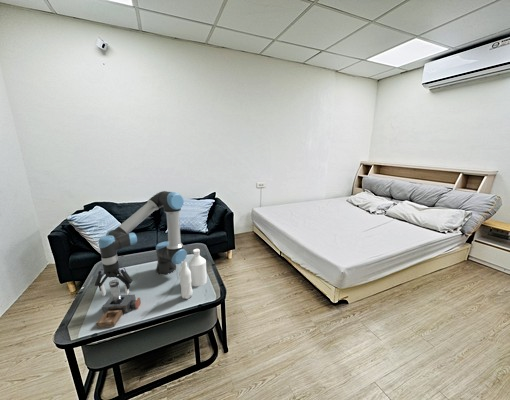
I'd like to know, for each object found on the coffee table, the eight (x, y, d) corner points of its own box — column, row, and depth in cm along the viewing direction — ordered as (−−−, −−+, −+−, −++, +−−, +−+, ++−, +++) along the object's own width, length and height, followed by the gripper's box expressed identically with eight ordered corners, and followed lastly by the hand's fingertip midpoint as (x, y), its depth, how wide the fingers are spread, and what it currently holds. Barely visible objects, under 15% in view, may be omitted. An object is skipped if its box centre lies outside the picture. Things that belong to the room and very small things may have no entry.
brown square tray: (122, 314, 126) (122, 309, 125) (114, 326, 117) (113, 321, 117) (106, 315, 125) (105, 311, 125) (97, 327, 117) (96, 323, 116)
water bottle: (183, 293, 144) (179, 259, 138) (193, 292, 145) (190, 258, 139) (180, 300, 137) (176, 265, 132) (191, 299, 138) (188, 264, 132)
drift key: (140, 303, 135) (140, 297, 134) (137, 308, 130) (136, 302, 129) (127, 304, 134) (126, 298, 133) (123, 309, 130) (122, 303, 129)
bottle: (199, 275, 165) (197, 245, 159) (210, 280, 158) (208, 249, 153) (187, 283, 155) (184, 251, 150) (198, 288, 149) (195, 255, 143)
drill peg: (124, 304, 134) (120, 279, 130) (120, 310, 129) (115, 283, 125) (116, 305, 134) (111, 279, 130) (112, 310, 129) (107, 284, 125)
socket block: (135, 301, 137) (134, 294, 136) (128, 312, 127) (126, 305, 126) (112, 302, 136) (111, 296, 135) (103, 314, 126) (101, 307, 125)
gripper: (135, 257, 130) (140, 289, 134) (91, 260, 127) (98, 291, 132) (129, 264, 122) (134, 296, 127) (83, 266, 120) (90, 300, 125)
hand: (116, 294), depth 129 cm, fingers open, 13 cm apart
